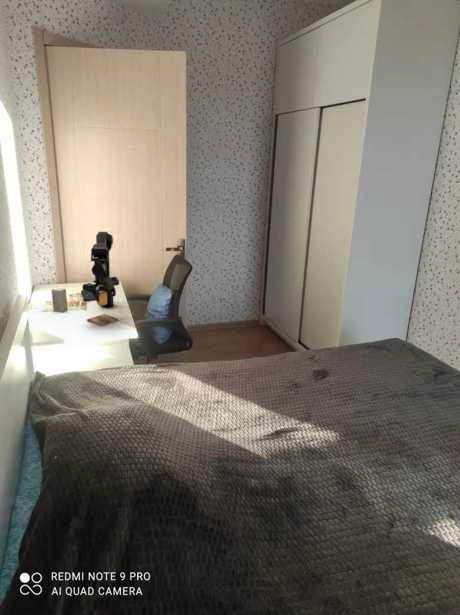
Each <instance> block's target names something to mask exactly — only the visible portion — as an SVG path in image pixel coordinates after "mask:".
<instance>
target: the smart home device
mask: <svg viewBox="0 0 460 615" xmlns="http://www.w3.org/2000/svg"><path fill="white" fill-rule="evenodd" d="M80 294H81V297H82V296H83V297H82V301H83V302H97V301H96V299H95V298H94V296H93V294H92V293H91V292H88V291H85V290H83V289H81V290H80Z"/></svg>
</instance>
